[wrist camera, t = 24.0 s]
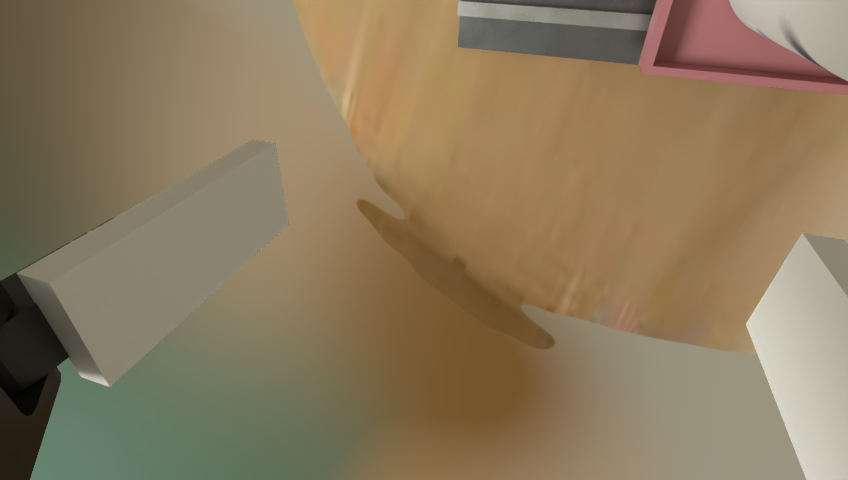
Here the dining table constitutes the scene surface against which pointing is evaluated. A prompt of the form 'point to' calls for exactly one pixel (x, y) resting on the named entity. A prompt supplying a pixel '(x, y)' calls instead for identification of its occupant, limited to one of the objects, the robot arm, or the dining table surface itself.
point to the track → (558, 27)
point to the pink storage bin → (724, 50)
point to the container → (802, 28)
